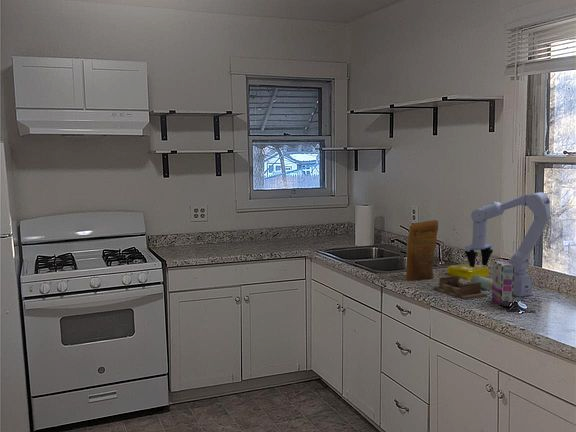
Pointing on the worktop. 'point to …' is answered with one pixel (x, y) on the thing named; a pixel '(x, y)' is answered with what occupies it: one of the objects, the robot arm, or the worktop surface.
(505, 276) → the candy bar box
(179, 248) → the worktop surface
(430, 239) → the pancake mix bag
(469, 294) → the roll cradle
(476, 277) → the paper roll
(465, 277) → the element tile
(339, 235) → the worktop surface
